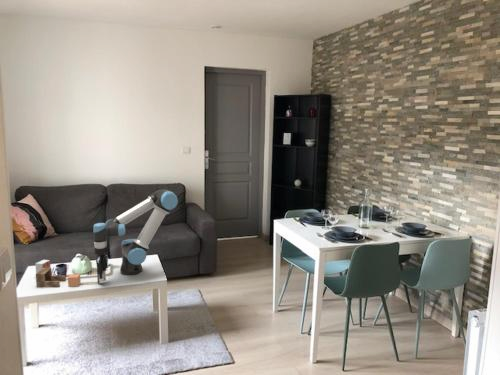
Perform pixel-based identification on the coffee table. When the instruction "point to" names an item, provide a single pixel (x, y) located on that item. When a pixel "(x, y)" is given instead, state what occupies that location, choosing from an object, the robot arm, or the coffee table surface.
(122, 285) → the coffee table surface
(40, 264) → the small box
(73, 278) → the tethered block
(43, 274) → the wooden toy block stack
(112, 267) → the coffee table surface
